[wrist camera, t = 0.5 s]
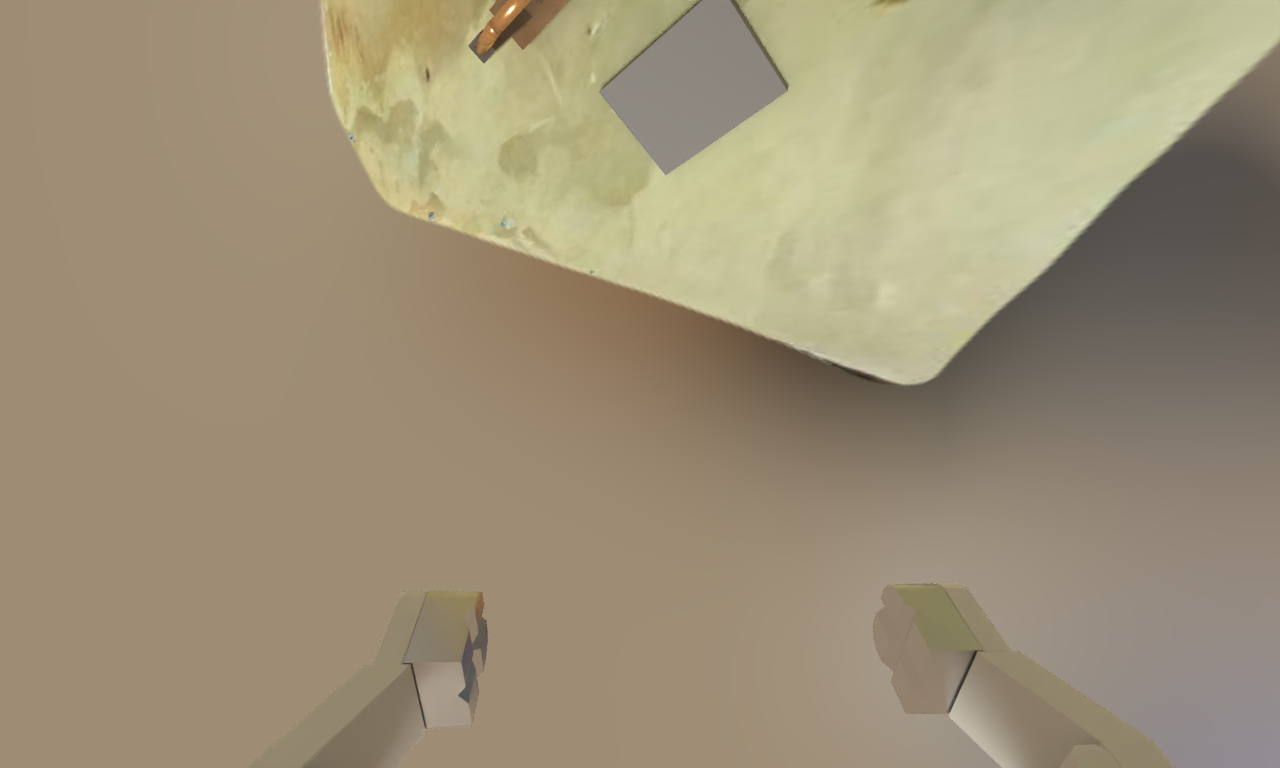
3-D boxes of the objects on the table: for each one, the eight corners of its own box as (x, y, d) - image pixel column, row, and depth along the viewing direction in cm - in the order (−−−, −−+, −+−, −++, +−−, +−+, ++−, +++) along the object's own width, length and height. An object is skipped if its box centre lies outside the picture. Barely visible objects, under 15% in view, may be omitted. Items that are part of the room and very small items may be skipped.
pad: (722, -19, 47) (720, -16, 47) (788, 86, 52) (787, 90, 51) (602, 87, 56) (599, 92, 55) (667, 170, 61) (665, 175, 60)
